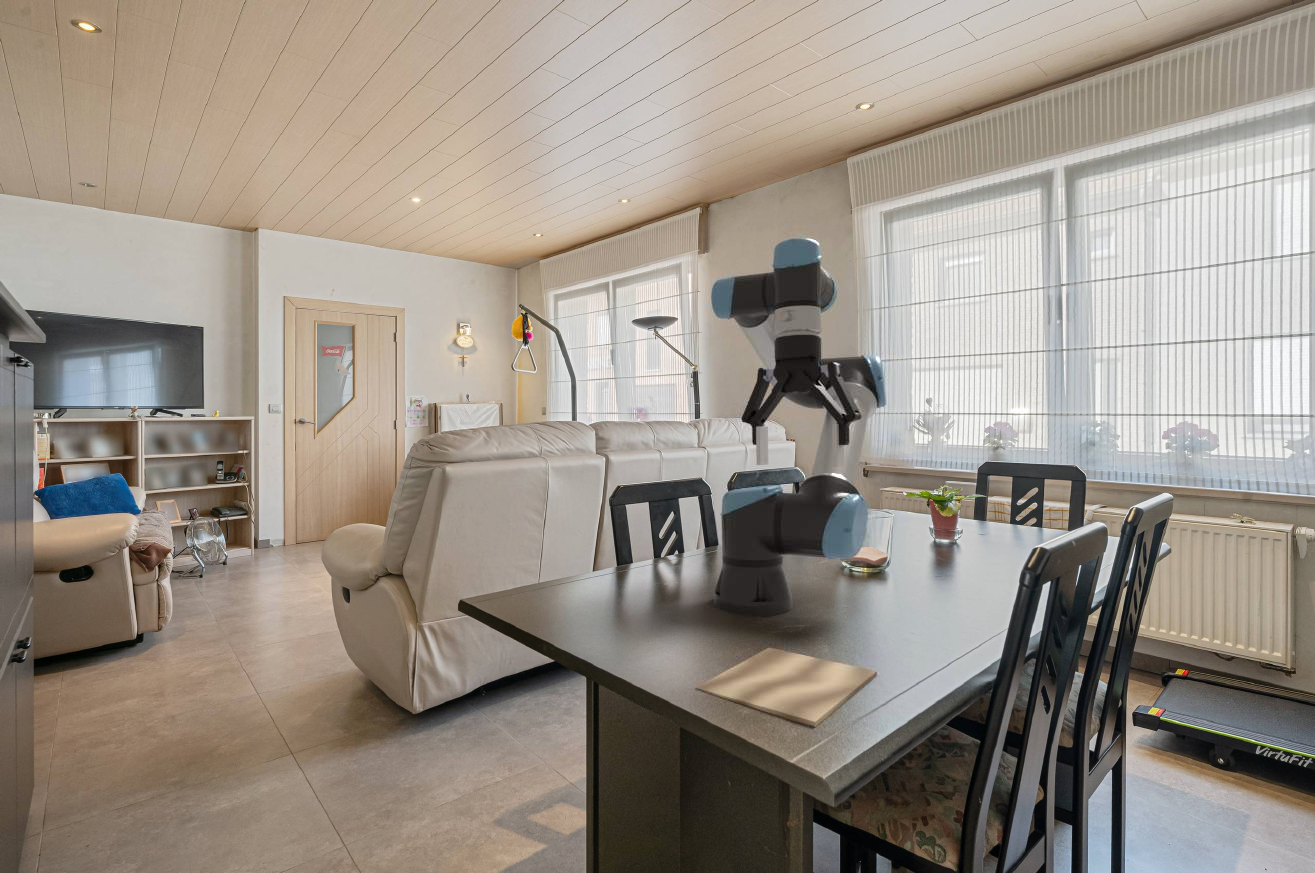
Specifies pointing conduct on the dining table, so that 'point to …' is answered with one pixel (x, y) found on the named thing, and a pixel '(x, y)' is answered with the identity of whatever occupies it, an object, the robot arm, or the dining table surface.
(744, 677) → the cork mat
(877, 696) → the dining table surface
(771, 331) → the robot arm
